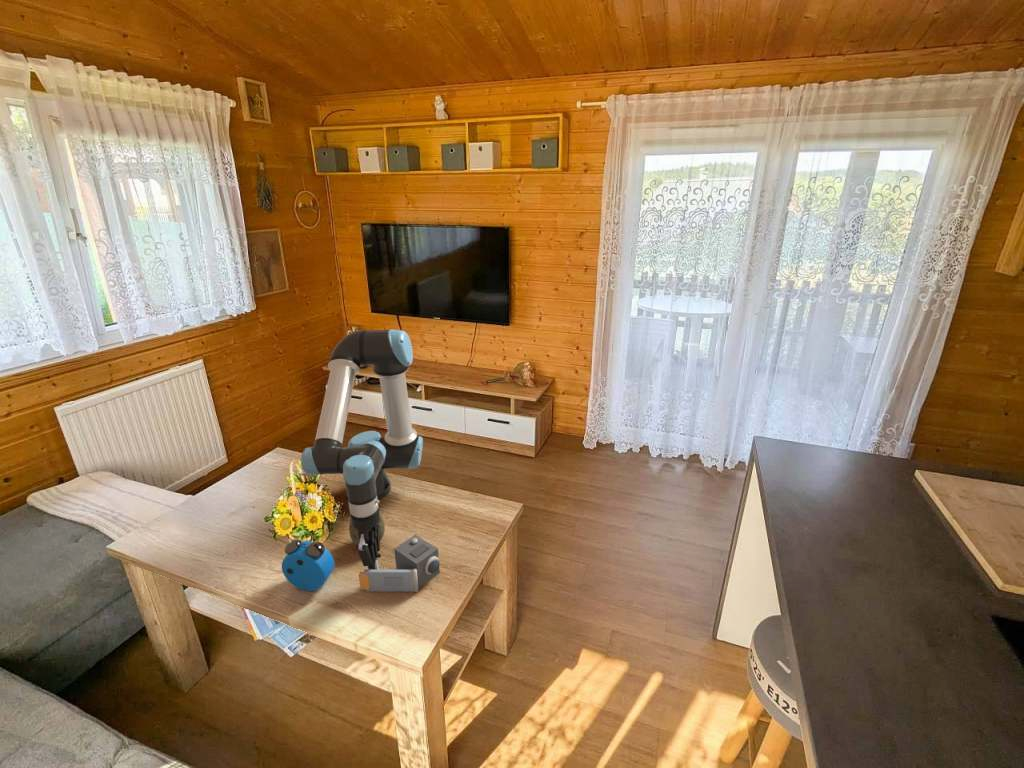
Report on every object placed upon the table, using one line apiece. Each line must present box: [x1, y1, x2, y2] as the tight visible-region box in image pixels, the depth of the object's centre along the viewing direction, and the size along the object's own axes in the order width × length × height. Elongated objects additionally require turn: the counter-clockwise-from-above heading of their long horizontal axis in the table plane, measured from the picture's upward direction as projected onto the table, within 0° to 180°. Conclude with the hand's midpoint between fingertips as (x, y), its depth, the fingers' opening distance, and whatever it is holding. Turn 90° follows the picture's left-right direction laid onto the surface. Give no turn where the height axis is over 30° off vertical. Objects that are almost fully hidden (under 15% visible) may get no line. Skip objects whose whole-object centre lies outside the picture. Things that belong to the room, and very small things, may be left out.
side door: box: [358, 568, 420, 593], centre depth 135 cm, size 16×2×7 cm, turn 90°
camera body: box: [393, 534, 441, 589], centre depth 140 cm, size 11×8×10 cm
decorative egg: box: [348, 513, 386, 546], centre depth 151 cm, size 11×11×15 cm
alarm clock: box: [281, 538, 335, 592], centre depth 136 cm, size 13×6×15 cm, turn 80°
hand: (375, 577), depth 138 cm, fingers closed
